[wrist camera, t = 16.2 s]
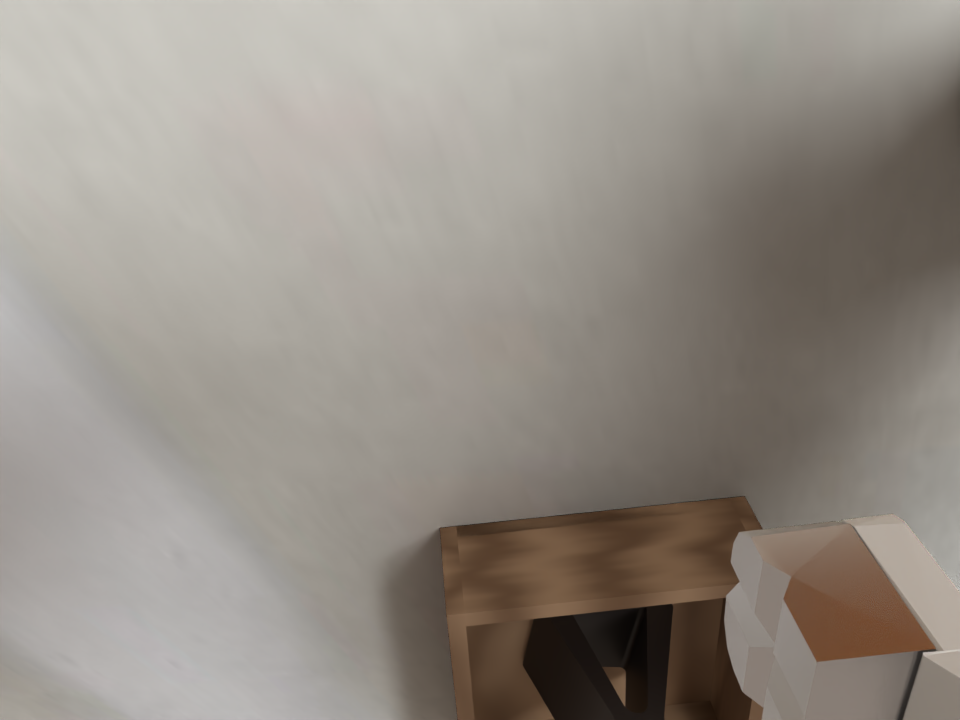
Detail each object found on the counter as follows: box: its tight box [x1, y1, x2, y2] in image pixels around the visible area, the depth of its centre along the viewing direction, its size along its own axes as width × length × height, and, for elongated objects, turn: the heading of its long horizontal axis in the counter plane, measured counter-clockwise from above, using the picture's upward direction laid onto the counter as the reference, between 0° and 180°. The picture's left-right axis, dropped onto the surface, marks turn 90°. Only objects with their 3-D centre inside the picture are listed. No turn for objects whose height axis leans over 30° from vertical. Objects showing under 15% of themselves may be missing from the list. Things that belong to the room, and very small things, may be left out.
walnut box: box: [440, 496, 764, 720], centre depth 55 cm, size 19×19×7 cm
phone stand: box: [523, 604, 673, 720], centre depth 52 cm, size 9×6×12 cm, turn 81°
